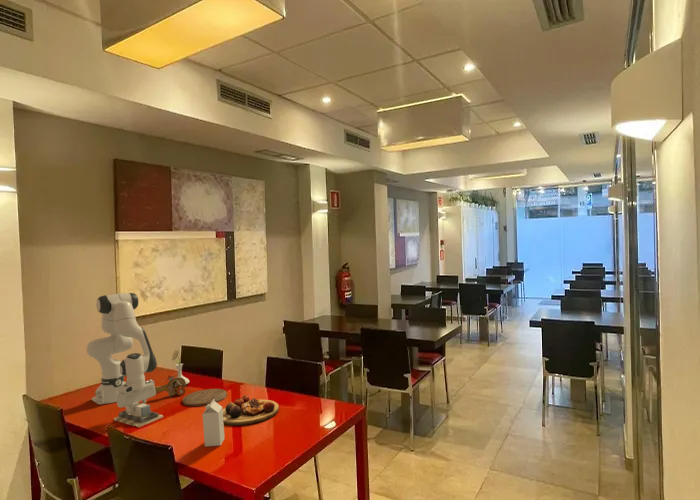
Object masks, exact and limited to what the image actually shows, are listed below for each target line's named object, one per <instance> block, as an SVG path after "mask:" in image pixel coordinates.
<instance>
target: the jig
mask: <svg viewBox="0 0 700 500" xmlns="http://www.w3.org/2000/svg"><path fill="white" fill-rule="evenodd" d="M162 418H164V415H163V414H159V413H158V412H155V411H151V415H149V416H146V417H140V416H136V415H132V414H129V413H126V409H125V410H123V411H120V412H118V416H116V417H113V420H114V421H115V422H119V423H122V424H126V425H129V426H133V427H135V426H136V427H137V428H141V427H143V426H145V425H148V424H151V423H153V422H155V421H158V420H159V419H162Z"/></svg>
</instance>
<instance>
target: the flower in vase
mask: <svg viewBox="0 0 700 500" xmlns="http://www.w3.org/2000/svg"><path fill="white" fill-rule="evenodd" d="M179 353H180V351H179V349H178V348H177V349H174V351H173V353H172V355H171V360H172V362H173V361H176V362H177V363H178V364H174V366H175V367H176V369H177V373H178V374H177V375H176V377H181V378H183V379H184V380H185V382H186V385H188V384H189V383H190V380H189V378H188V377H185V376H184V375H183V374H182V369H183V365H184V363H181V358H180V357H179ZM177 382H178V383H179V381H177ZM179 384H180V383H179ZM180 385H181V386H182V384H180ZM172 386H173V385H172Z"/></svg>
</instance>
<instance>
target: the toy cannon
mask: <svg viewBox="0 0 700 500" xmlns="http://www.w3.org/2000/svg"><path fill="white" fill-rule="evenodd" d="M175 376H176V377H175ZM177 376H178V372H176V373H174V374H169V375H168V377H166V378H165V379H163V380H162V381H161V382H162V383H164V382H166V381H167V380H168V382H167V383H166V384H164V385H158V386H155V385H154V386H155V390H156V394H158V393H161V392H167V393H168V396H169V397H173V396H174V395H178V396H184V394H185V393H186V386H187V384H186V382H185V380H184V379H183V378H181V377H177ZM177 381H179V383H180V384H182V386H181V385H180V384H179V383H178V382H177ZM172 385H173V386H172Z"/></svg>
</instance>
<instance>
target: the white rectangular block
mask: <svg viewBox="0 0 700 500" xmlns="http://www.w3.org/2000/svg"><path fill="white" fill-rule="evenodd" d="M132 407H133V408H135V412H131V409H130V407H129V406H126V407H125V410H126V413H129V414H132V415H136V416H140V417H146V416H149V415H151V412H152V411H151V404H146V403H145V404H142V403H141V402H137V403H134V404H133V406H132Z"/></svg>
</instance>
